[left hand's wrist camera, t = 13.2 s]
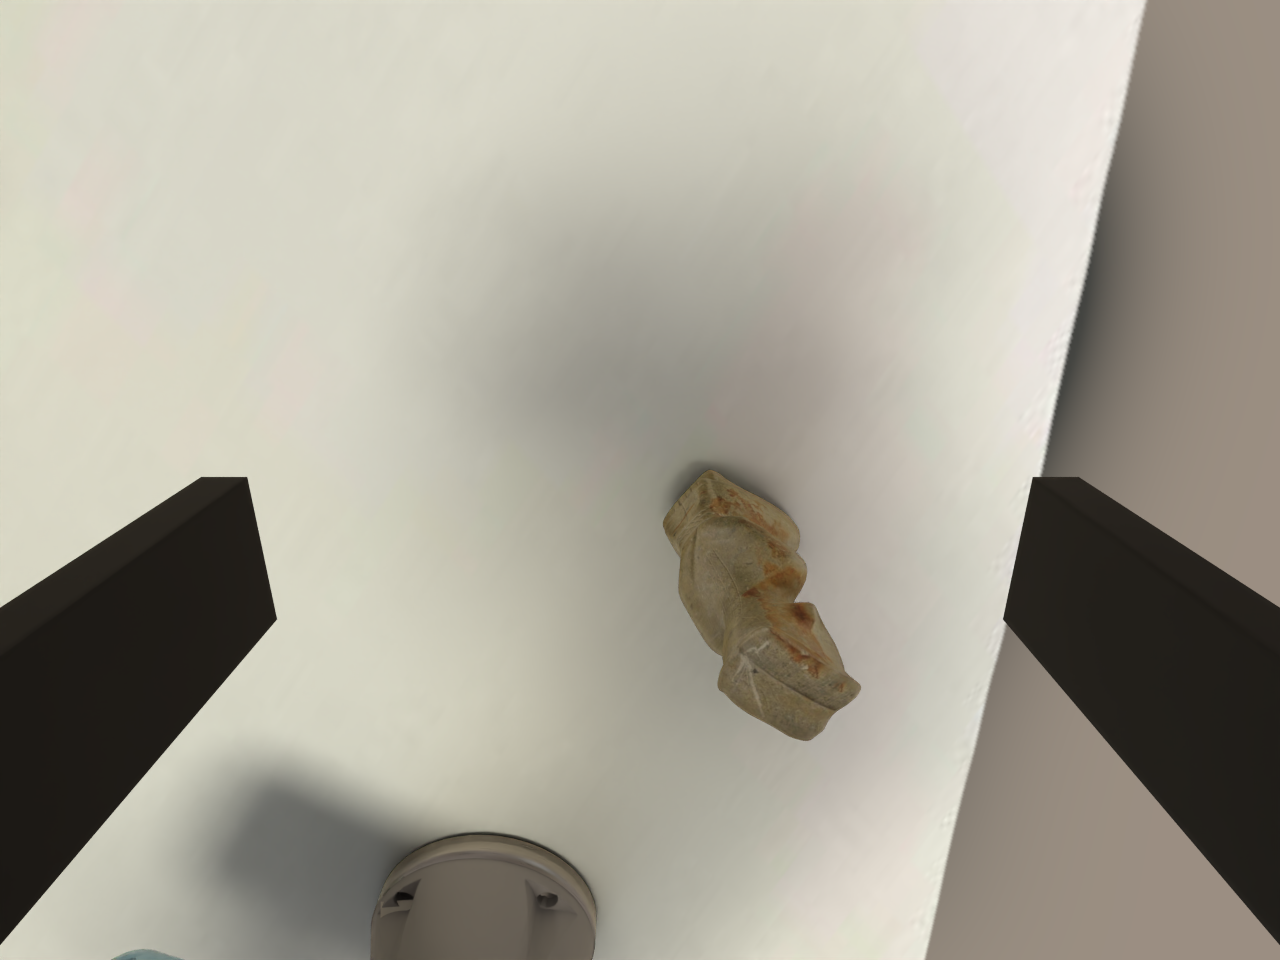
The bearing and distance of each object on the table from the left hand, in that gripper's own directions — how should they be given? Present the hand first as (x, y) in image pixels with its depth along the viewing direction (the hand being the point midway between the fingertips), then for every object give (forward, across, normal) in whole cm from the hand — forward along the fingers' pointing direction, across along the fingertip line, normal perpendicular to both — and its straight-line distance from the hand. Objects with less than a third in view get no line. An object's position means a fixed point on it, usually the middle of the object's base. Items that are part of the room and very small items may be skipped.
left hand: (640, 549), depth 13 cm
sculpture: (+26, -5, +11) cm, 29 cm away
